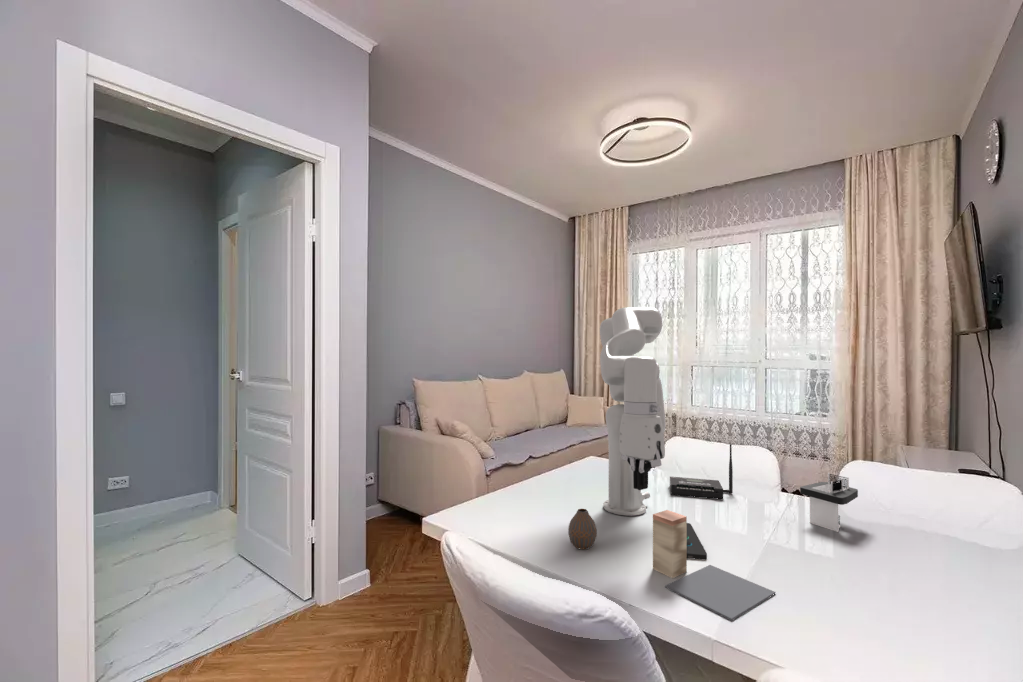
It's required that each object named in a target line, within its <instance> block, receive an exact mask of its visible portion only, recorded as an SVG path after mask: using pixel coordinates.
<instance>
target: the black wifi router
mask: <svg viewBox="0 0 1023 682" xmlns="http://www.w3.org/2000/svg"><path fill="white" fill-rule="evenodd" d="M732 448H733V447H732V443H730V444H729V461H728V463H729V464H728V489H726V488H723V486H722V485H721V481H720V480H718V479H707V478H706V479H705V478H693V477H680V476H679V477H678V476H669V489H670V495H671V496H677V495H680V496H679V497H688V496H693V497H692V498H699V497H707V498H706V499H710V498H718V499H717V500H721V499H723V500H724V493H725V494H730V493H733V494H734V491H733V490H734V489H733V484H734V483H733V480H734V479H733V473H734V471H733V468H734V467H733V459H732V453H733V452H732ZM694 496H695V497H694Z"/></svg>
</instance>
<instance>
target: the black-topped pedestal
mask: <svg viewBox="0 0 1023 682" xmlns="http://www.w3.org/2000/svg"><path fill="white" fill-rule="evenodd" d="M849 481H850V478H849V477H846V476H841V475H836V474H832V473H830V472H828V473H827V481H819V482H816V483H815V482H814V483H811V484H805V485H802V486H801V485H800V486H799V488H800V489H799V491H800V492H799V494H800V495H803V496H807V497H809V523H810V524H812V525H816V526H818V527H821V528H825V529H828V530H831V531H833V532H837V533H839V529H840V528H841V525H840V524H841V516H840V515H839V505H840V506H843V505H847V504H848V503H850V502H851V501H853V500H855V499H856V498H858V497H859V490H858V489H857V488H854V487H850V482H849Z"/></svg>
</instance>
